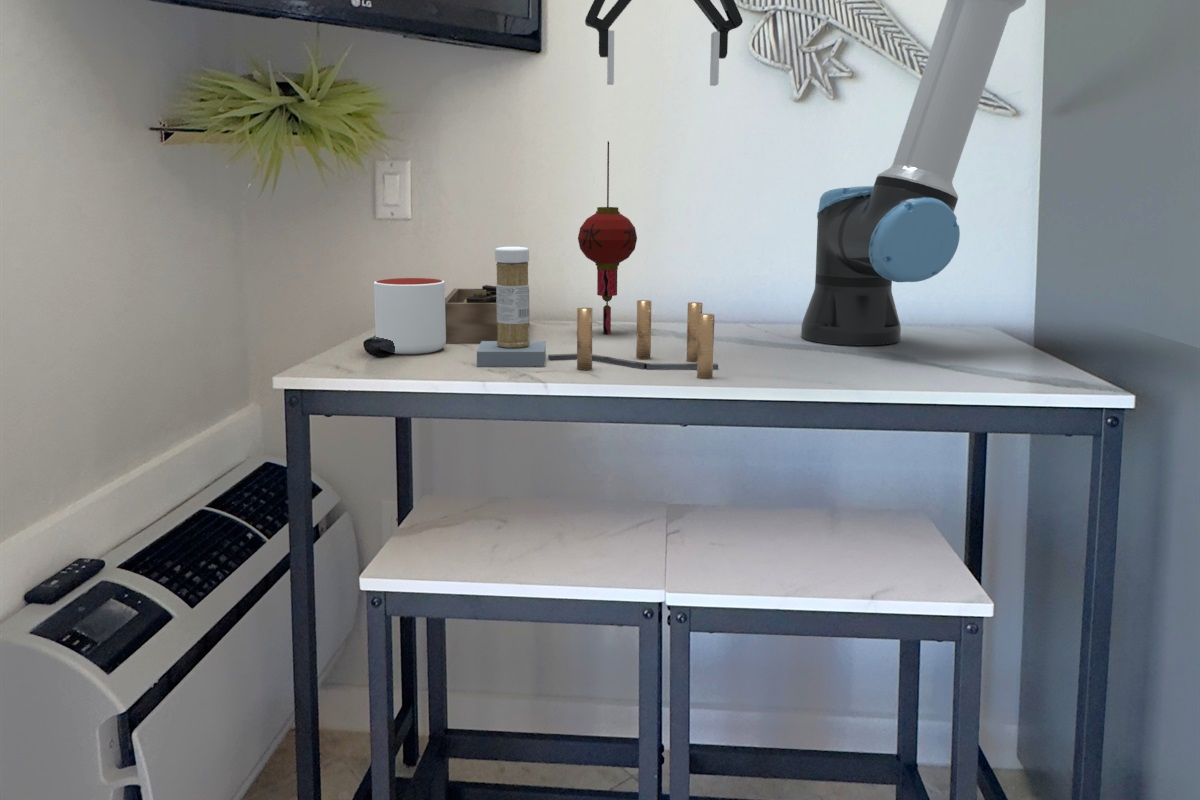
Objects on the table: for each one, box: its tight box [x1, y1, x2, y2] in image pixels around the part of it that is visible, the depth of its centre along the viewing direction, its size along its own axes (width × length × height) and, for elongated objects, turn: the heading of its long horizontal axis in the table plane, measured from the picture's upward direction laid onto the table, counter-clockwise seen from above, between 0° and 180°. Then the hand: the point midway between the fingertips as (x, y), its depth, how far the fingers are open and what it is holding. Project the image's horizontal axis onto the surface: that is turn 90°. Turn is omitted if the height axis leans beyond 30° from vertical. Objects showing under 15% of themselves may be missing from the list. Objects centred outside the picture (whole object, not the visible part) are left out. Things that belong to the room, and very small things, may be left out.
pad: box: [476, 340, 547, 368], centre depth 150 cm, size 9×9×2 cm
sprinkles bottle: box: [494, 246, 530, 348], centre depth 148 cm, size 5×5×14 cm
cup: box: [373, 277, 447, 355], centre depth 157 cm, size 10×10×10 cm
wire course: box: [547, 299, 719, 380], centre depth 145 cm, size 23×16×8 cm
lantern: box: [577, 140, 638, 335], centre depth 172 cm, size 10×10×30 cm
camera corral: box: [445, 288, 530, 344], centre depth 174 cm, size 13×21×6 cm, turn 2°
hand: (662, 84), depth 143 cm, fingers open, 13 cm apart
